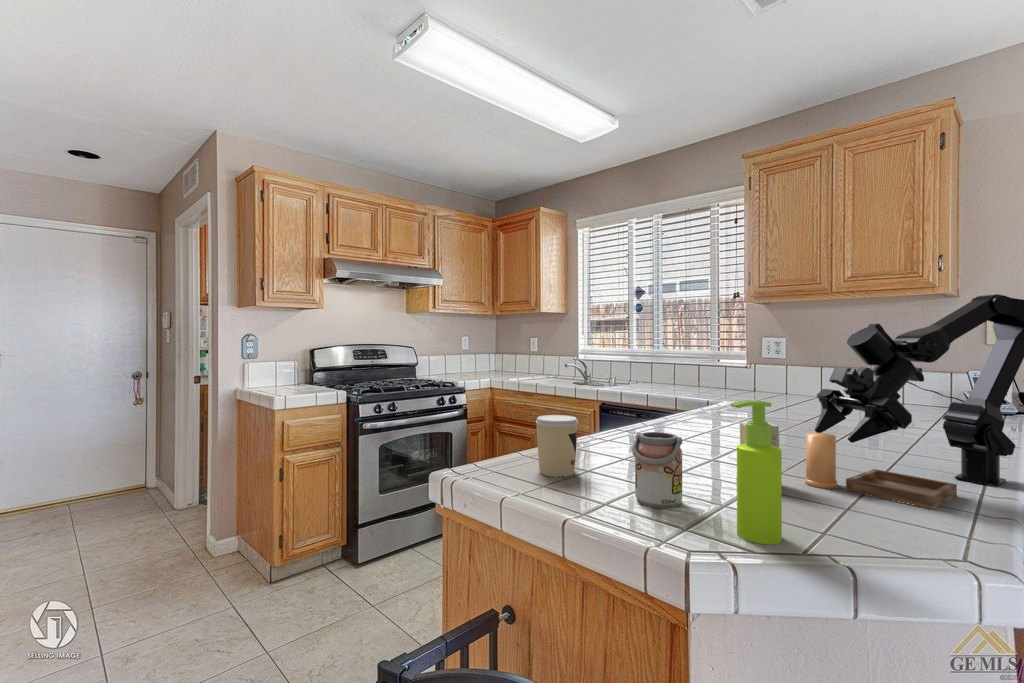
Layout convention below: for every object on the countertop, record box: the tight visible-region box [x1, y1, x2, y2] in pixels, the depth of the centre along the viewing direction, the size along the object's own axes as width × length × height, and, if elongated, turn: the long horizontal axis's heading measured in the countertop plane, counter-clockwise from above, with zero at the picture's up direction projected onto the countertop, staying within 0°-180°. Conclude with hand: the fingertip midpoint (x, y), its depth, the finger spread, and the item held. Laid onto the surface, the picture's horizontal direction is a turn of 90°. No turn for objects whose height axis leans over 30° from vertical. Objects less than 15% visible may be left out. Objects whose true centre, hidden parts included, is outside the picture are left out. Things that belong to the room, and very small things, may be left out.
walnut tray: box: [845, 468, 958, 510], centre depth 92 cm, size 13×13×2 cm
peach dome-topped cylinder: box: [804, 432, 838, 489], centre depth 97 cm, size 5×5×10 cm
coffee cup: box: [535, 414, 579, 478], centre depth 107 cm, size 9×9×12 cm
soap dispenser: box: [729, 399, 783, 545], centre depth 71 cm, size 6×7×20 cm
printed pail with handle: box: [631, 431, 683, 509], centre depth 86 cm, size 9×8×12 cm
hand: (832, 436), depth 97 cm, fingers open, 9 cm apart
